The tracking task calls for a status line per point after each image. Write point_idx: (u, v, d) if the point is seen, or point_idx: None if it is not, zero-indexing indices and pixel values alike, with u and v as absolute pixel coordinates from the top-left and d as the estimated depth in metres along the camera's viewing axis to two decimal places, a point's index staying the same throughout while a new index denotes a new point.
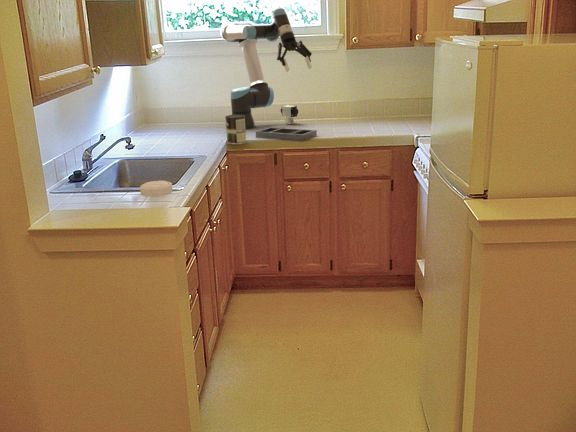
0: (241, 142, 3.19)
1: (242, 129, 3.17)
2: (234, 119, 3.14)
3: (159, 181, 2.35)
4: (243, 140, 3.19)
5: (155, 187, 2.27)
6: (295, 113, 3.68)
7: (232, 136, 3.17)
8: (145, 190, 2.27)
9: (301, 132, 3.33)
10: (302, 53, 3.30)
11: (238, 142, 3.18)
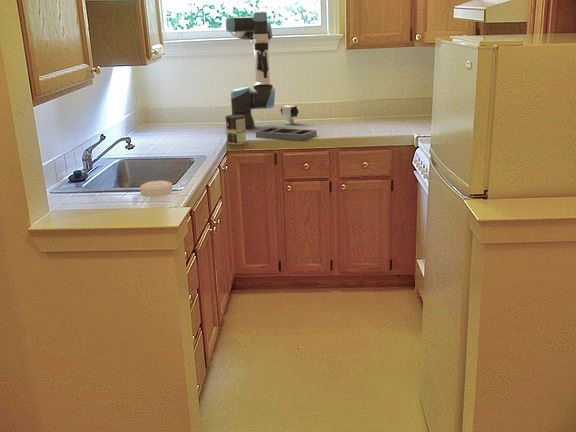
0: (241, 142, 3.19)
1: (242, 129, 3.17)
2: (234, 119, 3.14)
3: (159, 181, 2.35)
4: (243, 140, 3.19)
5: (155, 187, 2.27)
6: (295, 113, 3.68)
7: (232, 136, 3.17)
8: (145, 190, 2.27)
9: (301, 132, 3.33)
10: None
11: (238, 142, 3.18)
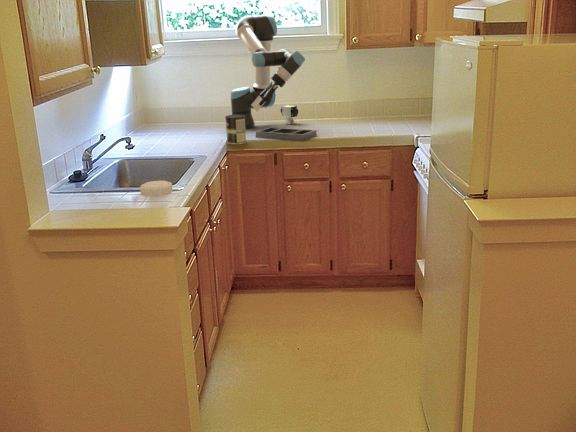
0: (241, 142, 3.19)
1: (242, 129, 3.17)
2: (234, 119, 3.14)
3: (159, 181, 2.35)
4: (243, 140, 3.19)
5: (155, 187, 2.27)
6: (295, 113, 3.68)
7: (232, 136, 3.17)
8: (145, 190, 2.27)
9: (301, 132, 3.33)
10: None
11: (238, 142, 3.18)
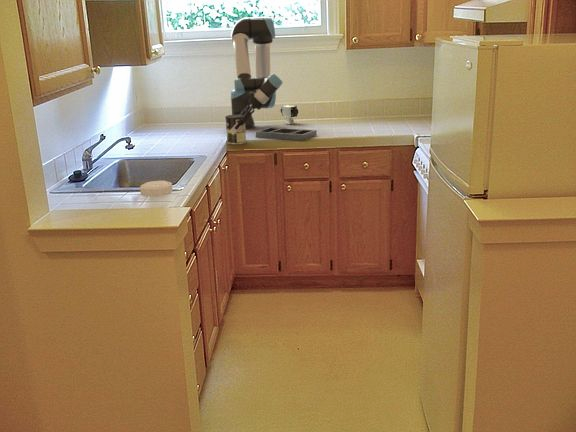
0: (241, 142, 3.19)
1: (242, 129, 3.17)
2: (234, 119, 3.14)
3: (159, 181, 2.35)
4: (243, 140, 3.19)
5: (155, 187, 2.27)
6: (295, 113, 3.68)
7: (232, 136, 3.17)
8: (145, 190, 2.27)
9: (301, 132, 3.33)
10: None
11: (238, 142, 3.18)
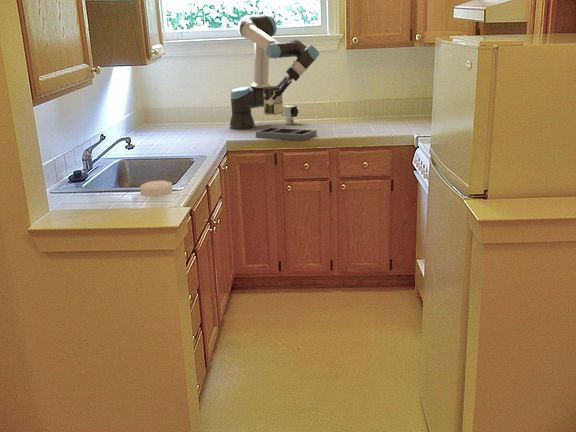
0: (278, 113, 3.24)
1: (279, 100, 3.22)
2: (272, 90, 3.19)
3: (159, 181, 2.35)
4: (280, 111, 3.24)
5: (155, 187, 2.27)
6: (295, 113, 3.68)
7: (269, 106, 3.22)
8: (145, 190, 2.27)
9: (301, 132, 3.33)
10: None
11: (275, 113, 3.23)
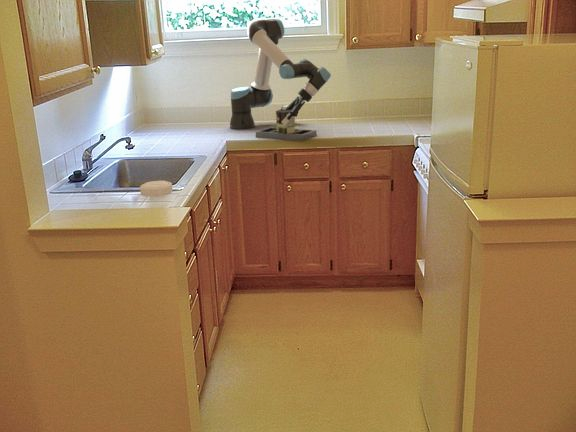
0: None
1: (292, 123, 3.29)
2: (285, 114, 3.25)
3: (159, 181, 2.35)
4: None
5: (155, 187, 2.27)
6: None
7: (282, 130, 3.28)
8: (145, 190, 2.27)
9: (301, 132, 3.33)
10: None
11: None
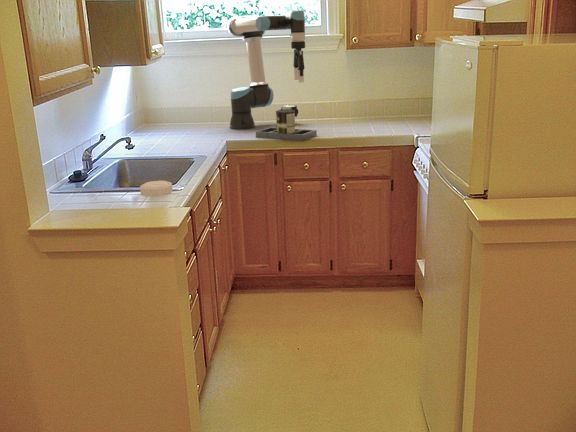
0: None
1: (292, 123, 3.29)
2: (285, 114, 3.25)
3: (159, 181, 2.35)
4: None
5: (155, 187, 2.27)
6: (295, 113, 3.68)
7: (282, 130, 3.28)
8: (145, 190, 2.27)
9: (301, 132, 3.33)
10: None
11: None
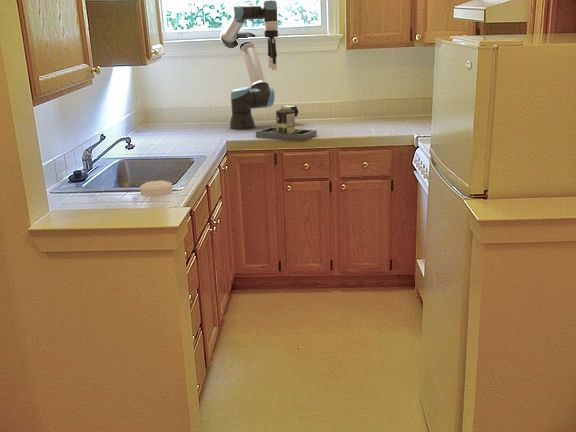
0: None
1: (292, 123, 3.29)
2: (285, 114, 3.25)
3: (159, 181, 2.35)
4: None
5: (155, 187, 2.27)
6: (295, 113, 3.68)
7: (282, 130, 3.28)
8: (145, 190, 2.27)
9: (301, 132, 3.33)
10: None
11: None
